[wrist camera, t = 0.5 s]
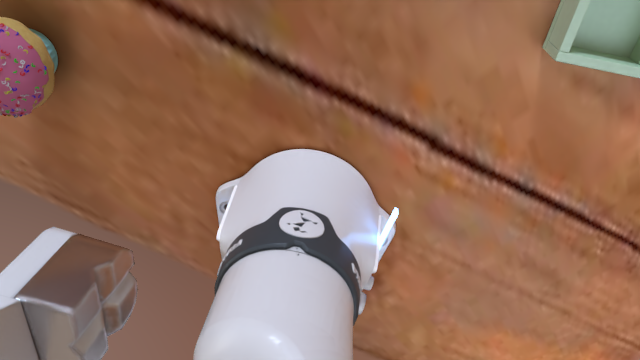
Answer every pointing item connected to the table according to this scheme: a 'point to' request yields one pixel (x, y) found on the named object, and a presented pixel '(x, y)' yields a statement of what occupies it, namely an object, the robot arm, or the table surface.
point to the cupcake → (24, 68)
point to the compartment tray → (597, 35)
